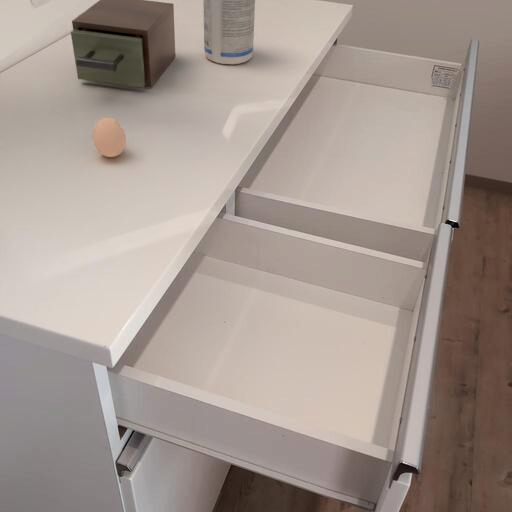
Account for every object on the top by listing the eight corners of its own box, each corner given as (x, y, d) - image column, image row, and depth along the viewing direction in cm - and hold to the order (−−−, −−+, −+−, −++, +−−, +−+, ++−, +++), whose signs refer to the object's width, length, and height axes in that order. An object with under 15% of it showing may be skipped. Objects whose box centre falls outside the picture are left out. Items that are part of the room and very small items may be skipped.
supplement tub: (259, 53, 109) (265, -27, 100) (240, 70, 102) (244, -15, 93) (216, 44, 112) (217, -35, 102) (194, 59, 105) (193, -24, 95)
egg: (132, 159, 77) (128, 122, 73) (102, 166, 75) (96, 129, 71) (120, 144, 79) (116, 108, 76) (90, 151, 78) (85, 115, 74)
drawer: (133, 100, 88) (128, 52, 83) (65, 91, 89) (56, 42, 84) (167, 58, 102) (165, 14, 97) (107, 50, 103) (102, 6, 98)
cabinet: (151, 88, 94) (147, 30, 88) (80, 78, 95) (71, 20, 89) (175, 57, 105) (173, 3, 99) (112, 48, 106) (106, -5, 100)
